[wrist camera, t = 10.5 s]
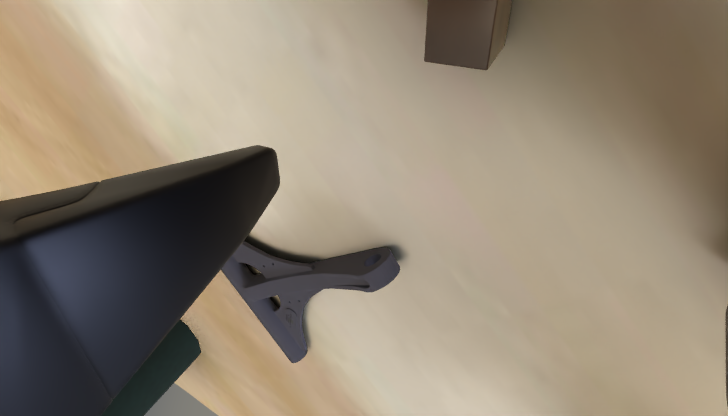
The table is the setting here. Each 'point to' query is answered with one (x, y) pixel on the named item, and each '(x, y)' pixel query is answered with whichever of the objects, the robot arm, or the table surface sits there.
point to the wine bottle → (156, 373)
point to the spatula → (466, 31)
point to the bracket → (301, 286)
